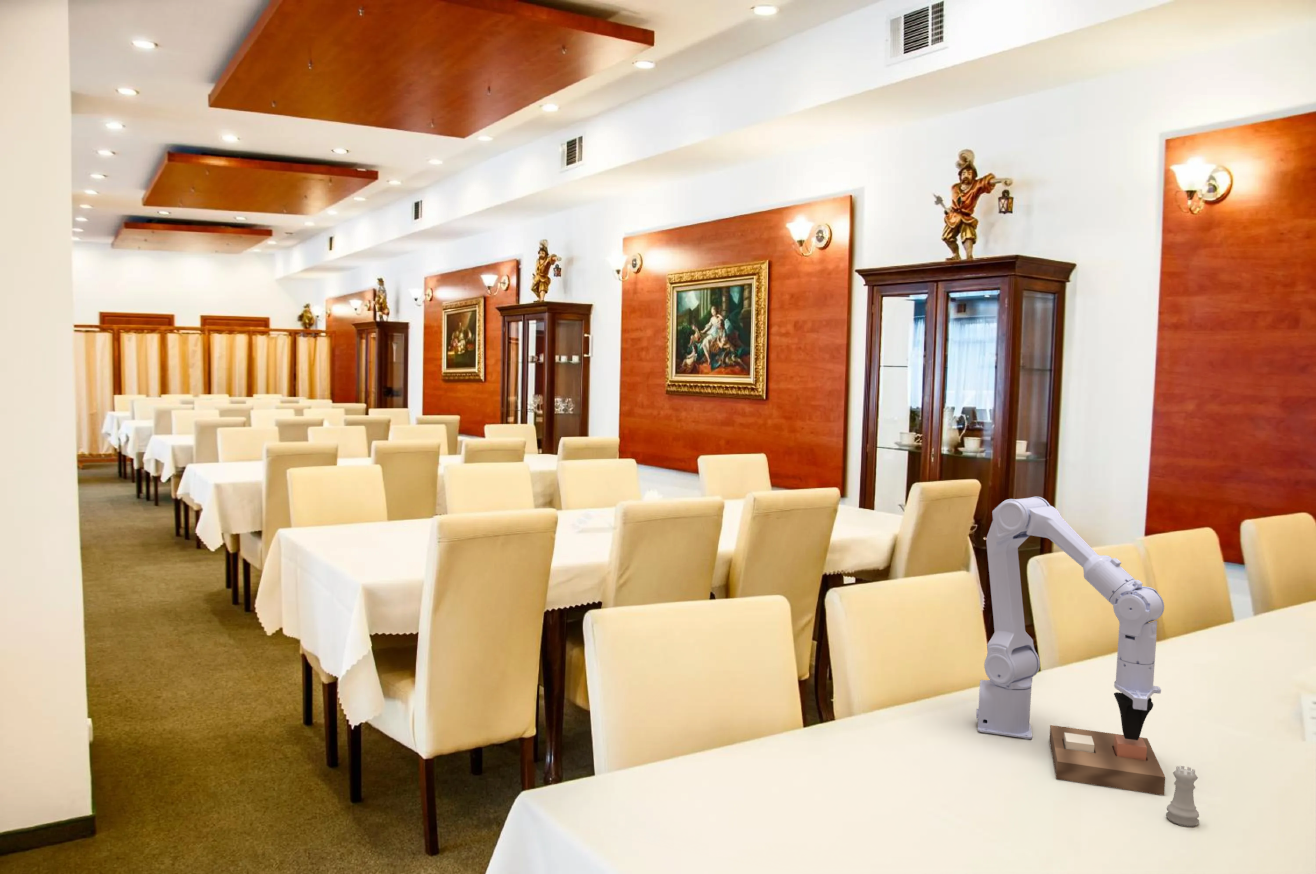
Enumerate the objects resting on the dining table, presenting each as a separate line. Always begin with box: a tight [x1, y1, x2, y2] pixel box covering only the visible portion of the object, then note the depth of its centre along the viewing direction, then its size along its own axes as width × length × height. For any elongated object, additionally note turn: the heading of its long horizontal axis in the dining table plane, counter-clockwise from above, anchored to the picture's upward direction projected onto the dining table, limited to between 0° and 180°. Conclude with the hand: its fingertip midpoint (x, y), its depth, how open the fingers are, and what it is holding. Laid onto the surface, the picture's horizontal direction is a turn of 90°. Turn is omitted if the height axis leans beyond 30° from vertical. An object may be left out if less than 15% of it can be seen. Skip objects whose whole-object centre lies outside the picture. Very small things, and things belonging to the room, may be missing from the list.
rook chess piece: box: [1165, 765, 1200, 828], centre depth 145 cm, size 4×4×8 cm
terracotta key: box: [1114, 734, 1147, 760], centre depth 163 cm, size 4×4×4 cm
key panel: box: [1049, 724, 1166, 796], centre depth 165 cm, size 16×18×3 cm
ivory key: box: [1064, 732, 1094, 753], centre depth 166 cm, size 4×4×4 cm
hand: (1130, 738), depth 163 cm, fingers closed
